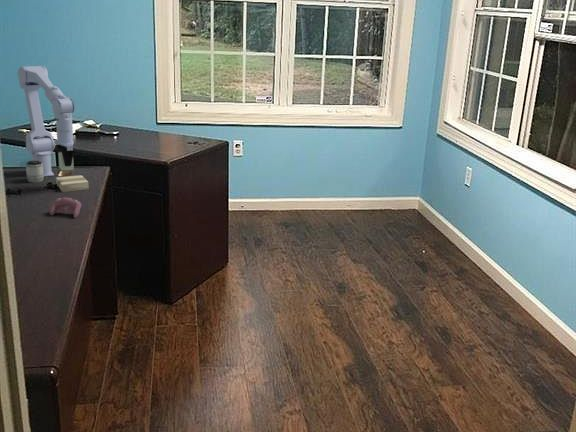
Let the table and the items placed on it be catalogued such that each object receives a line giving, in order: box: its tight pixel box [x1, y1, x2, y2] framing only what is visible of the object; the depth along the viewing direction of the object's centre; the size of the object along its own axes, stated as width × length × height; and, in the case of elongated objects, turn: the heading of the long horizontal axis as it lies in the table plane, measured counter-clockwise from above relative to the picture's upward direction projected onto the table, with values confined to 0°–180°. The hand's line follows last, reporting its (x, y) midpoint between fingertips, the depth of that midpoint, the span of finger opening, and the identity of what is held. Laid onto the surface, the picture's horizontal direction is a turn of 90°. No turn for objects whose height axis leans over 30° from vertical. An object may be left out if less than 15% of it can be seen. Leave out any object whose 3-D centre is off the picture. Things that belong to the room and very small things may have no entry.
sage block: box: [57, 152, 75, 171], centre depth 235 cm, size 4×4×6 cm
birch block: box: [55, 174, 90, 193], centre depth 239 cm, size 10×10×3 cm
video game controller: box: [49, 197, 82, 219], centre depth 211 cm, size 10×5×7 cm, turn 85°
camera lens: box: [25, 160, 45, 184], centre depth 243 cm, size 6×6×8 cm
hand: (66, 164), depth 236 cm, fingers closed on sage block, 4 cm apart
